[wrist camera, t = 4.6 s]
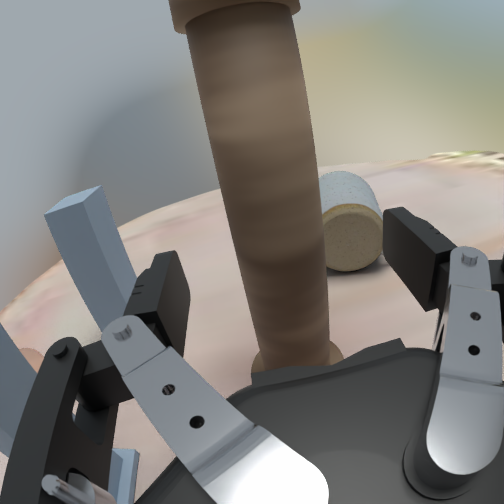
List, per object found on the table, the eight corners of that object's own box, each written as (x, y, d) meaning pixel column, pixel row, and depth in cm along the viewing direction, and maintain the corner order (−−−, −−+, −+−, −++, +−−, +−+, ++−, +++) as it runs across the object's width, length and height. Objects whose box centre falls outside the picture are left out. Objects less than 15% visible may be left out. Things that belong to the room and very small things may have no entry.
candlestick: (360, 369, 18) (332, -33, 8) (304, 433, 15) (215, -68, 5) (294, 336, 22) (235, 2, 12) (237, 386, 19) (128, 5, 9)
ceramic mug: (310, 280, 28) (303, 201, 24) (308, 238, 35) (301, 172, 31) (420, 271, 26) (428, 193, 22) (398, 231, 33) (399, 166, 29)
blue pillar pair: (131, 522, 11) (-59, 383, 5) (65, 508, 11) (-99, 371, 5) (165, 314, 27) (113, 179, 21) (118, 321, 28) (62, 196, 21)
